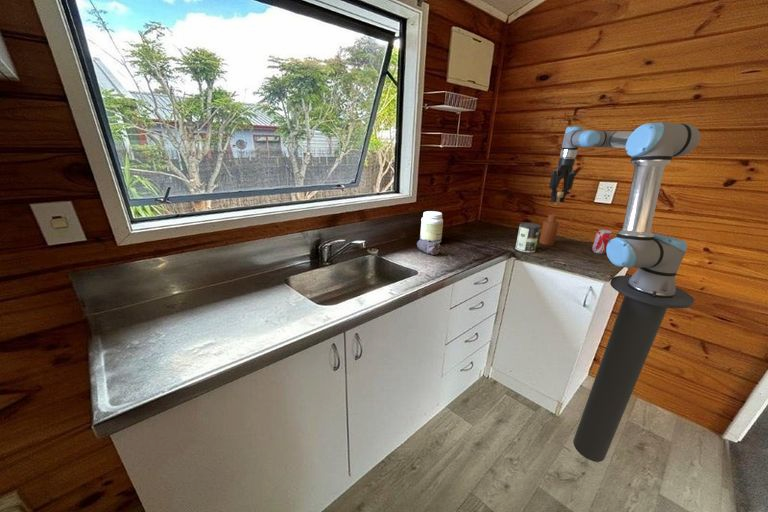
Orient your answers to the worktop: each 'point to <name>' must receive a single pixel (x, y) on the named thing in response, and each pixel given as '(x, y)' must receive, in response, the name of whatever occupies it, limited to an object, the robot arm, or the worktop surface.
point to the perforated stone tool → (428, 246)
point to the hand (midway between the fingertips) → (557, 201)
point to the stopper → (559, 196)
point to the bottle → (549, 230)
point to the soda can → (601, 241)
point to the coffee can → (527, 237)
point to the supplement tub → (431, 226)
